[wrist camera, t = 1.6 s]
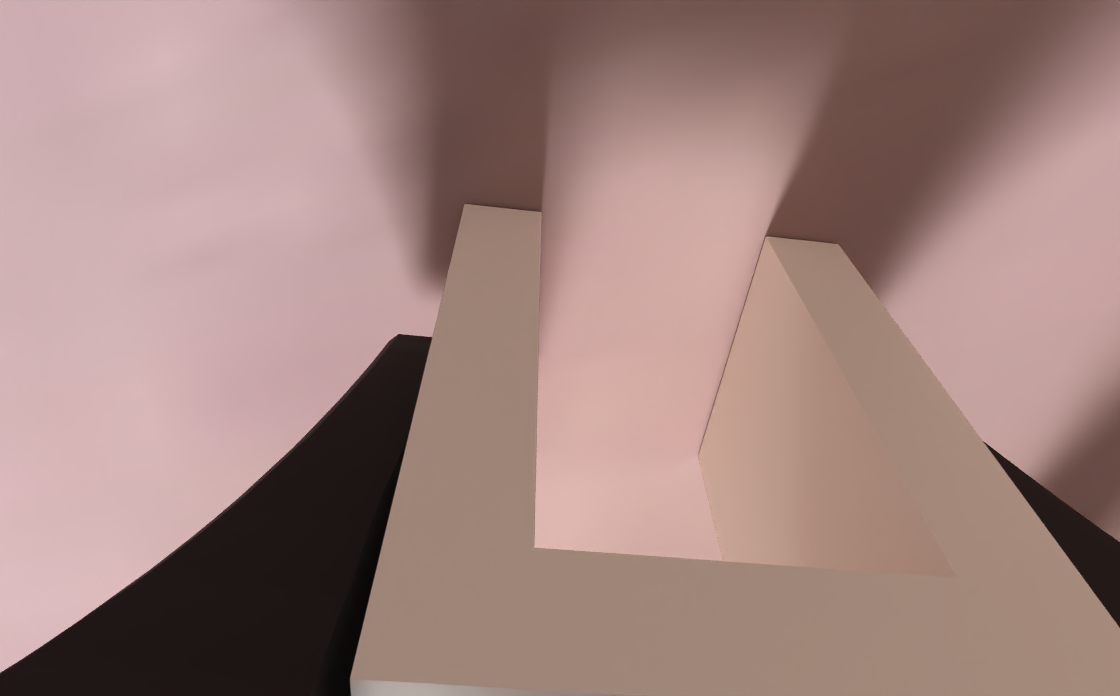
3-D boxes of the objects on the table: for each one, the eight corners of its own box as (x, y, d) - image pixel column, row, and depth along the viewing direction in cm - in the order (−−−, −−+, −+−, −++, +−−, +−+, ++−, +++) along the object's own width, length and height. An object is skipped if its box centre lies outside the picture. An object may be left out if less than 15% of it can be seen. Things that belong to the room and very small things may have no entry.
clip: (838, 243, 10) (1192, 726, 4) (757, 461, 12) (924, 958, 7) (464, 204, 9) (349, 678, 4) (452, 436, 12) (369, 942, 6)
